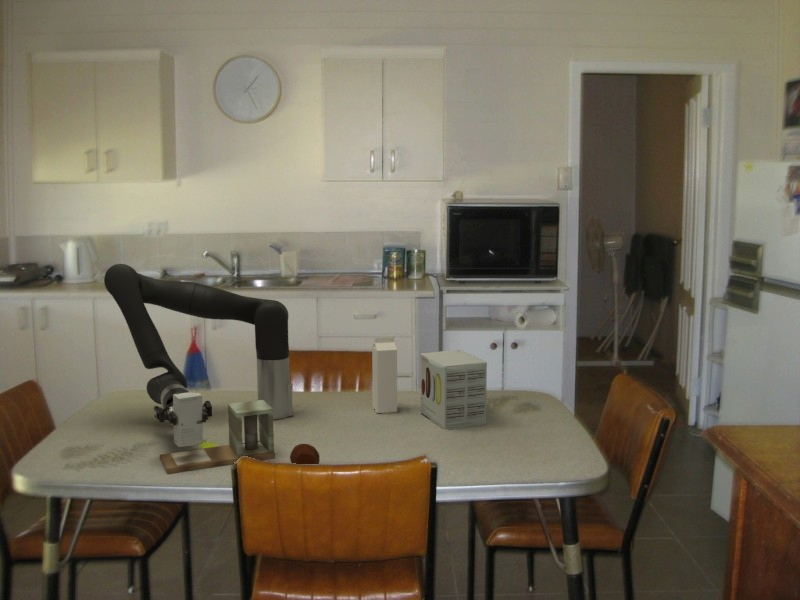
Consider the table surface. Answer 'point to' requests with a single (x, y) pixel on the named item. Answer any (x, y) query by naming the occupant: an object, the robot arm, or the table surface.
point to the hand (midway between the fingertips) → (189, 419)
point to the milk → (384, 375)
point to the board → (231, 440)
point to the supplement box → (453, 389)
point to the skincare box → (188, 419)
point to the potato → (304, 454)
